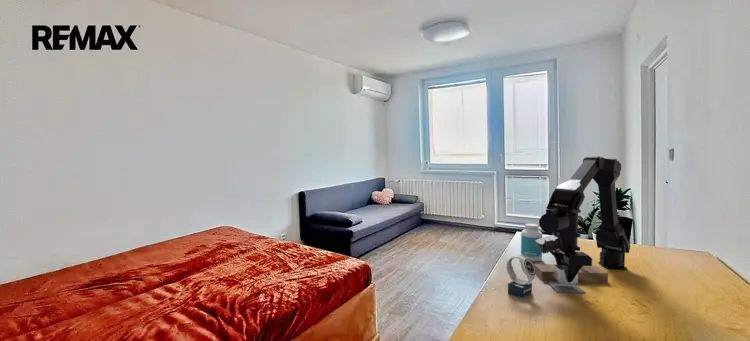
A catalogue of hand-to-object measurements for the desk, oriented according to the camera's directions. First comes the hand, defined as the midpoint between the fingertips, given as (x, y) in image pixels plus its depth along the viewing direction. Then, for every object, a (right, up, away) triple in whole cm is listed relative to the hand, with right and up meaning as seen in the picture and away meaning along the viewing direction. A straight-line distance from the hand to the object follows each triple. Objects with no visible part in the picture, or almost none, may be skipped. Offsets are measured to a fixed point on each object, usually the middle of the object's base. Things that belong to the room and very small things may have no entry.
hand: (565, 278), depth 103 cm
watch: (-16, -3, -4) cm, 16 cm away
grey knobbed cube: (0, -1, 0) cm, 1 cm away
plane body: (+6, -2, +8) cm, 10 cm away
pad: (0, -3, 0) cm, 3 cm away
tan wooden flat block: (+10, +1, +7) cm, 12 cm away
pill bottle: (+2, -1, +27) cm, 27 cm away
